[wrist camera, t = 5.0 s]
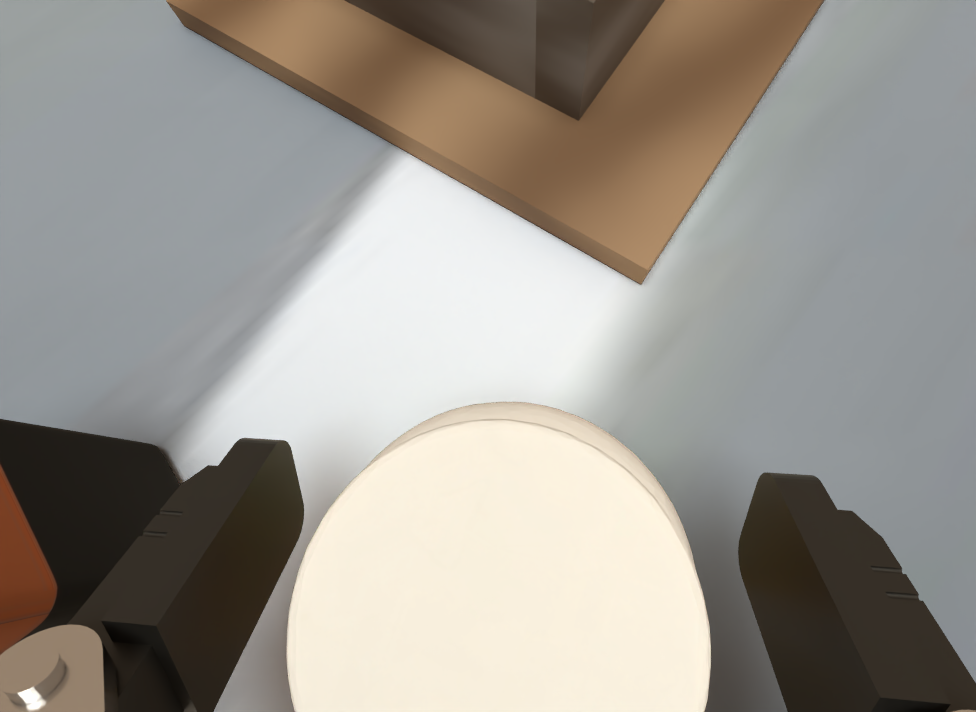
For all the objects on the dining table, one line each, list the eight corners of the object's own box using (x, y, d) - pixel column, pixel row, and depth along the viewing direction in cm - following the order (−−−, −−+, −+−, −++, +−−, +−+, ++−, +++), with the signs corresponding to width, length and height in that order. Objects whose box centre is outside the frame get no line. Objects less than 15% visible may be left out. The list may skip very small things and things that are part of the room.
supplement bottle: (455, 417, 16) (343, 283, 6) (648, 485, 15) (854, 449, 5) (380, 617, 14) (102, 823, 5) (585, 703, 14) (709, 1142, 4)
